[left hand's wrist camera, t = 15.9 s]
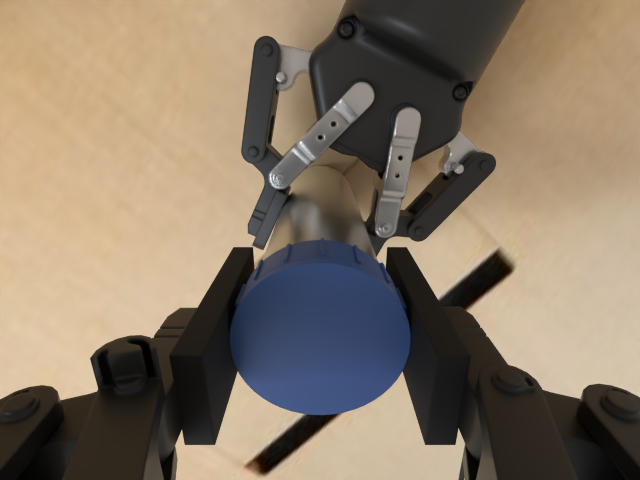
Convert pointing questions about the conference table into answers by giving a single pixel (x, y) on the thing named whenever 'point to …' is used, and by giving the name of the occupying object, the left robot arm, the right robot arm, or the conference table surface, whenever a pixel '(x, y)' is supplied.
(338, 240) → the jar
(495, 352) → the left robot arm
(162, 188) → the conference table surface
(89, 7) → the conference table surface
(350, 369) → the lid
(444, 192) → the right robot arm
